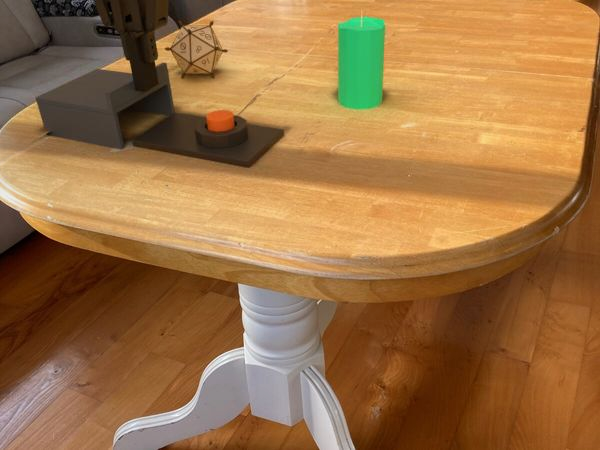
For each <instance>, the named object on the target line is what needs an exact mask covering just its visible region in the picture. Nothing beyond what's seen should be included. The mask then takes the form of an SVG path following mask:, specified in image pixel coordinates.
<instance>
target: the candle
mask: <svg viewBox="0 0 600 450" xmlns="http://www.w3.org/2000/svg"><path fill="white" fill-rule="evenodd" d="M337 26H338V27H337V66H338V67H337V101H338V104H339V106H342V107H344V108H346V109H351V110H370V109H373V108H376V107H379V106H380V105H381V104H382V103H383V90H384V89H383V87H384V65H385V41H386V40H385V39H386V23H385V20H384V18H378V17H372V16H371V17H370V16H363V10H360V16H357V17H352V18H349V19H347V20H346V21H345V20H344V21H343V22H338V23H337Z"/></svg>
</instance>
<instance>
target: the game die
mask: <svg viewBox="0 0 600 450" xmlns="http://www.w3.org/2000/svg"><path fill="white" fill-rule="evenodd" d="M178 25H179V26H180V29H179V31H178V33H177V35H176V36H175V38H174V40H173V42H172V44H171V46H170V47H169V46H168V47H167V46H166V47H165V48H164V50H165V51H168V52H169V51H170V52H171V54H172V56H173V58H174V59H175V61H176V63H177V64H178V65H179V66H178V67H179V68H180V70H181V71H182V73H181V75H180V76H181V77H180V78H181V79H184V78H185V77H186V75H210V77H211V78H213V79H216V75H215V74H214V71H215V69H216V68H217V67H216V66H218V65H217V64H218V62H220V59H221V57H222V55H223V53H226V54H227V53H228V52H229V50H228V49H226V48H223V47H222V44H221V43H220V40H219V39H218V37H217V35H216V33H215V32H214V29H213V27H212V26H213V25H214V20H211V21H209V24H207V25H206V24H204V25H202V24H201V25H200V24H199V25H193V24H192V25H191V24H190V25H189V24H187V25H184V23H183V21H181V20H178Z"/></svg>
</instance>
